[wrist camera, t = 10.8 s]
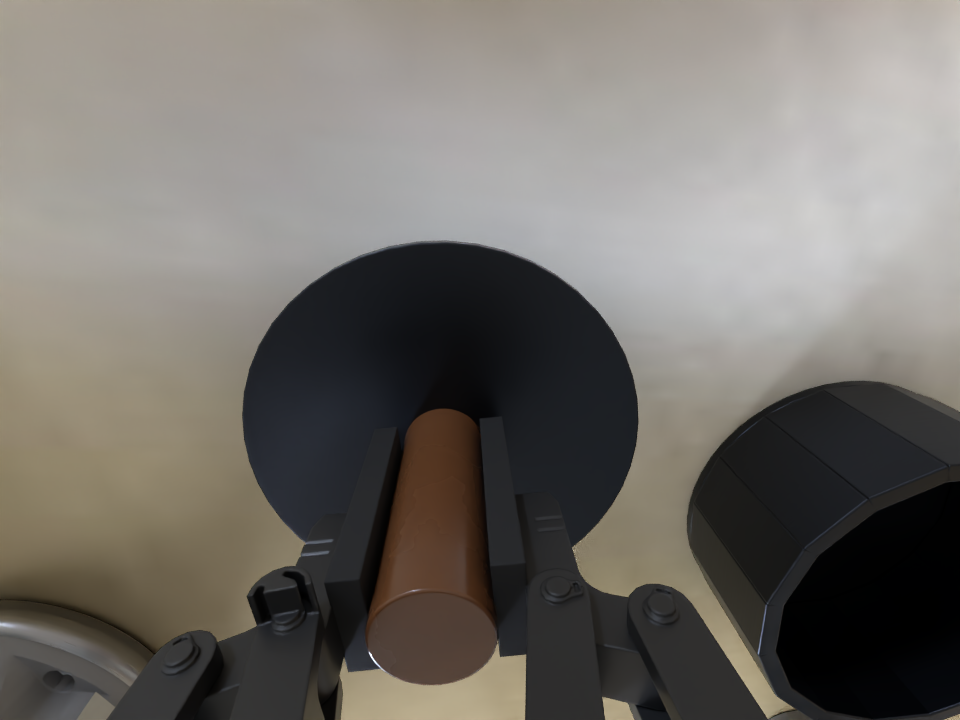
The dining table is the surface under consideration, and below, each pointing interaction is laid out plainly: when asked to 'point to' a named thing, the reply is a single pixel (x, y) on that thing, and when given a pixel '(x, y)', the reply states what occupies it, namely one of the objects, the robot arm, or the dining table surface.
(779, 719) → the beverage cup
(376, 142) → the dining table surface
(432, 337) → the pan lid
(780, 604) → the black round bowl
